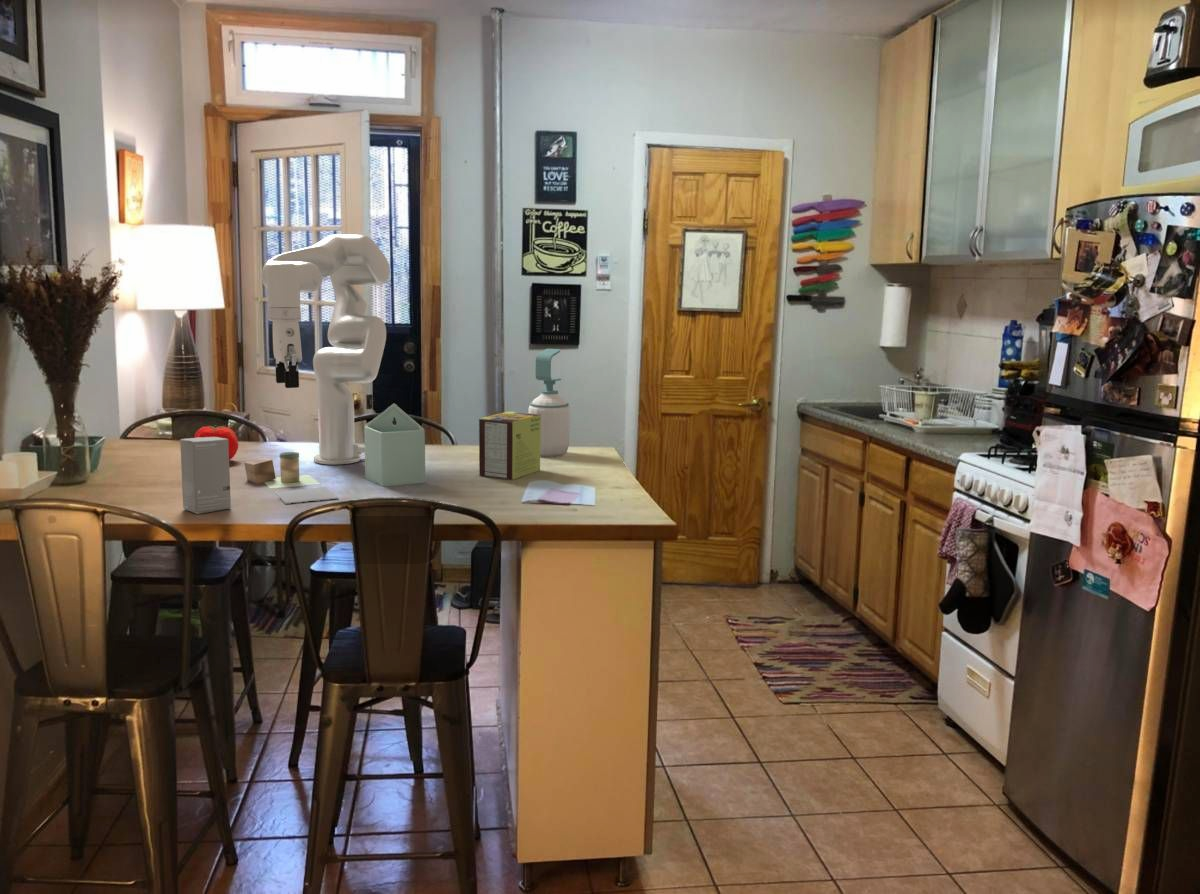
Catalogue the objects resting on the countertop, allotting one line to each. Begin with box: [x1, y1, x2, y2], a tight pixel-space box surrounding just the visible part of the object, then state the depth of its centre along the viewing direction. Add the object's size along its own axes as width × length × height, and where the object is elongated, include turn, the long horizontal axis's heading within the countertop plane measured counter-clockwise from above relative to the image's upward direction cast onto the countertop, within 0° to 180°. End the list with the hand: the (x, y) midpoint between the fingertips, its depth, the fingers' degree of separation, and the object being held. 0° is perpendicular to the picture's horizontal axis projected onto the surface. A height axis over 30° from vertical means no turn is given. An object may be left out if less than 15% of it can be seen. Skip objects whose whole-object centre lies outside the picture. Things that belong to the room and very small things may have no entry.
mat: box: [263, 474, 321, 489], centre depth 235 cm, size 12×12×1 cm
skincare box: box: [179, 437, 232, 515], centre depth 206 cm, size 8×7×16 cm
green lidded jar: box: [279, 451, 300, 483], centre depth 234 cm, size 5×5×7 cm
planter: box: [364, 403, 426, 487], centre depth 236 cm, size 16×8×20 cm, turn 78°
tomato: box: [193, 424, 239, 461], centre depth 257 cm, size 12×12×10 cm
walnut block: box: [243, 457, 276, 484], centre depth 234 cm, size 5×5×5 cm
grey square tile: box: [274, 486, 339, 505], centre depth 221 cm, size 12×12×1 cm
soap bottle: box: [527, 348, 571, 458], centre depth 278 cm, size 12×12×31 cm
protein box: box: [478, 411, 541, 481], centre depth 252 cm, size 10×15×16 cm
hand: (287, 385), depth 231 cm, fingers open, 9 cm apart
